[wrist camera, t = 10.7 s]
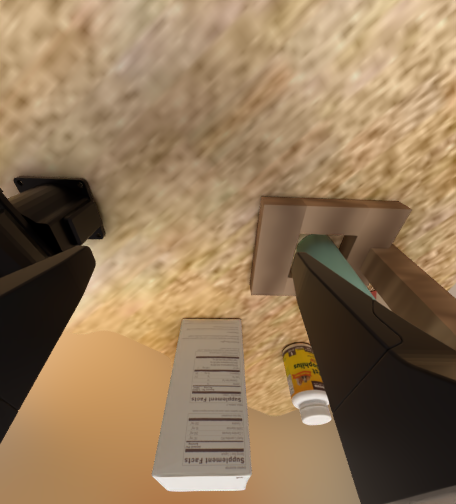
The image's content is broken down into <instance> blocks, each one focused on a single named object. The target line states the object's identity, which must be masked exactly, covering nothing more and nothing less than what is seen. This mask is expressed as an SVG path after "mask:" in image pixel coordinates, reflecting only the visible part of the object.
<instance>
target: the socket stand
mask: <svg viewBox="0 0 456 504" xmlns="http://www.w3.org/2000/svg"><path fill="white" fill-rule="evenodd" d="M411 211H412V209H410V208H409V207H407V206H405V205H404V204H402V203H400V202H399V201H375V200H346V199H316V198H287V197H261V204H260V211H259V219H258V226H257V234H256V241H255V249H254V256H253V264H252V271H251V279H250V289H251V295H277V296H296V293H295V288H294V282H293V277H292V271H291V264H292V260H293V256H294V253H295V249H296V245H297V242H298V238H299V234H321V235H345V236H344V239H343V241H342V244H341V246H340V248H339V251H340V252H341V254H342V255H343V256H344V258H345V259H346V260H347V262H348V263H349V264H350V266H351V267H352V268H353V270H354V271H355V272H356V274H357V275H358V276H359V278H360V279H361V280H362V282H363V283H364V284H365V286H366V287H367V286H368V285H369V283H370V284H371V285H372V286H373V287H374V289H375V290H376V291H377V293H378V294H379V295H380V296H381V298H382V299H383V300H384V301H385V303H386V304H387V305H388V307H389V308H390V309H391V310H392V312H394V313H395V314H397V315H398V316H400V317H402V318H403V319H405V320H406V321H408V322H410V323H411V324H413V325H415V326H416V327H418V328H419V329H421V330H423V331H424V332H426V333H428V334H429V335H431V336H433V337H434V338H436V339H438V340H439V341H441V342H443V343H444V344H446V345H448V346H449V347H451V348H453V349H454V350H456V298H454V297H453V296H452V295H451V294H450V293H449V292H448V291H446V290H445V289H444V288H443V287H442V286H441V285H439V284H438V283H437V282H436V281H435V280H434V279H433V278H431V277H430V276H429V275H428V274H427V273H426V272H424V271H423V270H422V269H421V268H420V267H419V266H418V265H416V264H415V263H414V262H413V261H412V260H411V259H409V258H408V257H407V256H406V255H405V254H404V253H402V252H401V251H400V250H399V249H398V248H397V247H396V246H394V245H393V244H392V243H393V242H394V240H395V238H396V236H397V235H398V233H399V231H400V229H401V228H402V226H403V224H404V223H405V221H406V219H407V217H408V216H409V214H410V212H411Z"/></svg>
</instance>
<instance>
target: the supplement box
mask: <svg viewBox="0 0 456 504" xmlns="http://www.w3.org/2000/svg"><path fill="white" fill-rule="evenodd" d="M251 474H252V470H251V455H250V440H249V424H248V413H247V399H246V386H245V370H244V354H243V340H242V325H241V319H182V323H181V328H180V334H179V339H178V344H177V349H176V354H175V359H174V365H173V370H172V375H171V380H170V385H169V390H168V395H167V400H166V406H165V410H164V416H163V421H162V426H161V431H160V436H159V441H158V446H157V451H156V456H155V461H154V466H153V471H152V476H153V477H154V478H155V479H156V480H157V481H158V482H159V483H160V484H161V485H162V486H163V487H164V488H166V489H167V490H168V491H236V490H245V487H246V484H247V481H248V479H249V477H250V476H251Z"/></svg>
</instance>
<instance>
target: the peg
mask: <svg viewBox="0 0 456 504" xmlns="http://www.w3.org/2000/svg"><path fill="white" fill-rule="evenodd" d="M297 252H306V253H307V254H309V255H310V256H312V257H313V258H315V259H316V260H318V261H319V262H321V263H322V264H324V265H325V266H326V267H328V268H329V269H331V270H332V271H334V272H335V273H337V274H338V275H340V276H341V277H342V278H344V279H345V280H347V281H348V282H350V283H351V284H353V285H354V286H356V287H357V288H358V289H360V290H361V291H363V292H364V293H366V294H367V295H369V296H370V297H372V298H373V299H374V300H376V299H375V298H374V296H373V295H372V294H371V292H370V291H369V290H368V288H367V287H366V286H365V284H364V283H363V282H362V280H361V279H360V278H359V276H358V275H357V274H356V272H355V271H354V270H353V268H352V267H351V266H350V264H349V263H348V262H347V260H346V259H345V258H344V256H343V255H342V254H341V252H340V251H339V250H338V248H337V247H336V246H335V244H334V243H333V242H332V240H331V239H330V238H329V237H328V236H327V235H321V234H311V235H309V236H307V237H305V238H304V239H302V240H301V242H300V243H299V244H298V247H297ZM376 301H377V300H376Z"/></svg>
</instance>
